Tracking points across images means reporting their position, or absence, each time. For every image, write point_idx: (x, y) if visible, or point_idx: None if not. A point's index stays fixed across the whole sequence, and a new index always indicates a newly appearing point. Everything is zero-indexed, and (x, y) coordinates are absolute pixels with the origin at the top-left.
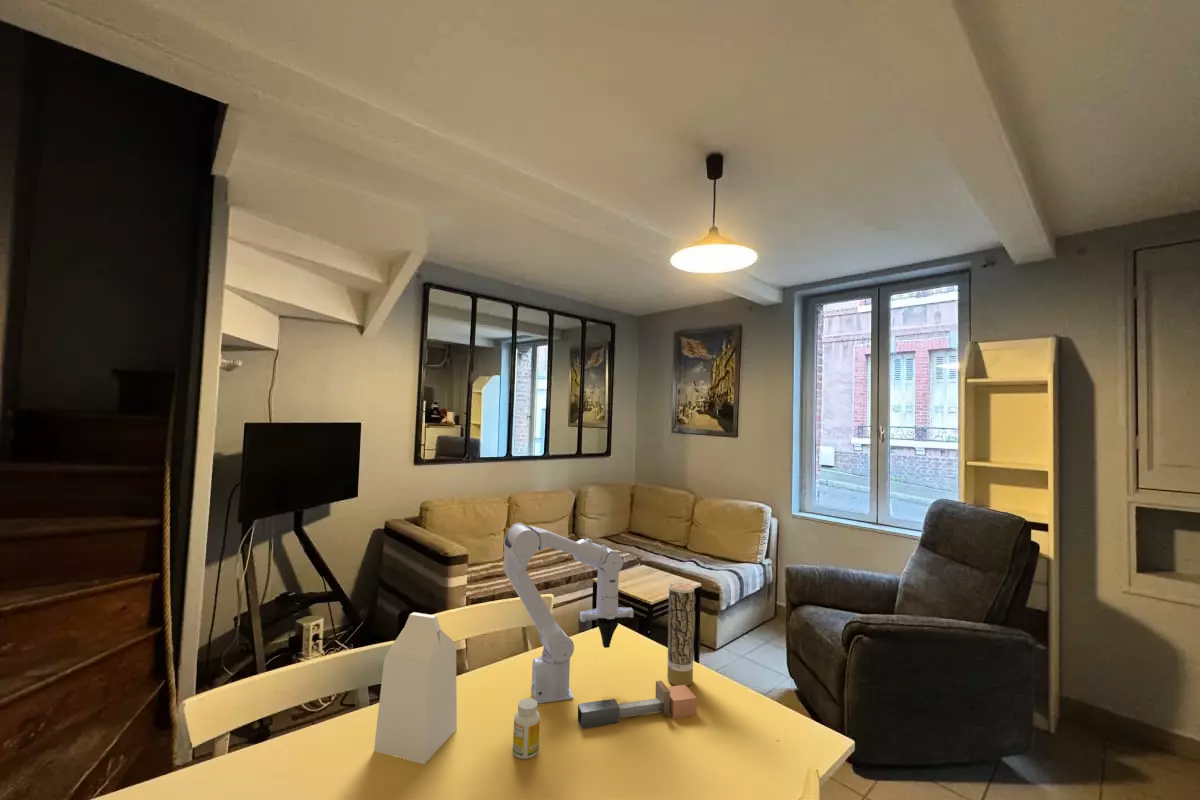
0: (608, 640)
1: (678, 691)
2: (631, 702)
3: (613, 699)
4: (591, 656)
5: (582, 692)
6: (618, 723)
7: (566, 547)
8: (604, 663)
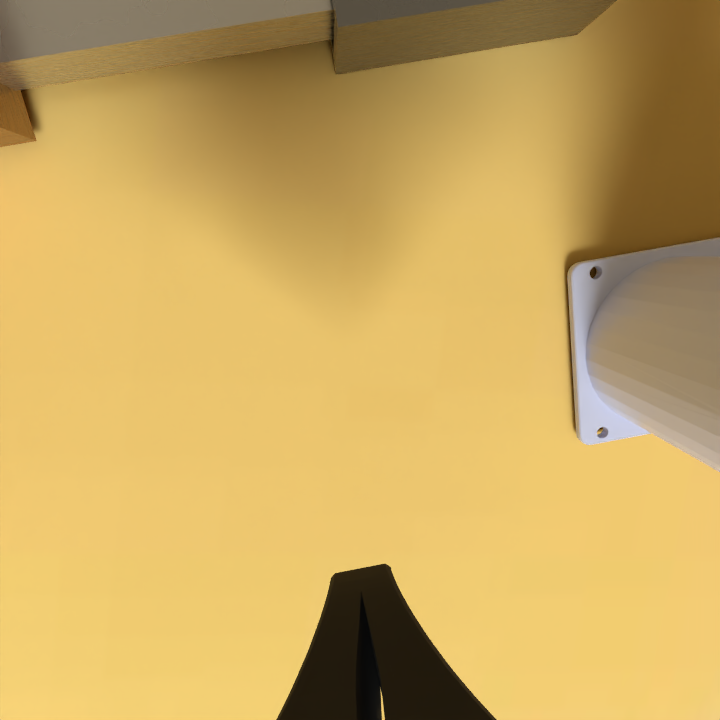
0: (353, 625)
1: None
2: (203, 22)
3: (351, 16)
4: None
5: (498, 340)
6: None
7: None
8: None
